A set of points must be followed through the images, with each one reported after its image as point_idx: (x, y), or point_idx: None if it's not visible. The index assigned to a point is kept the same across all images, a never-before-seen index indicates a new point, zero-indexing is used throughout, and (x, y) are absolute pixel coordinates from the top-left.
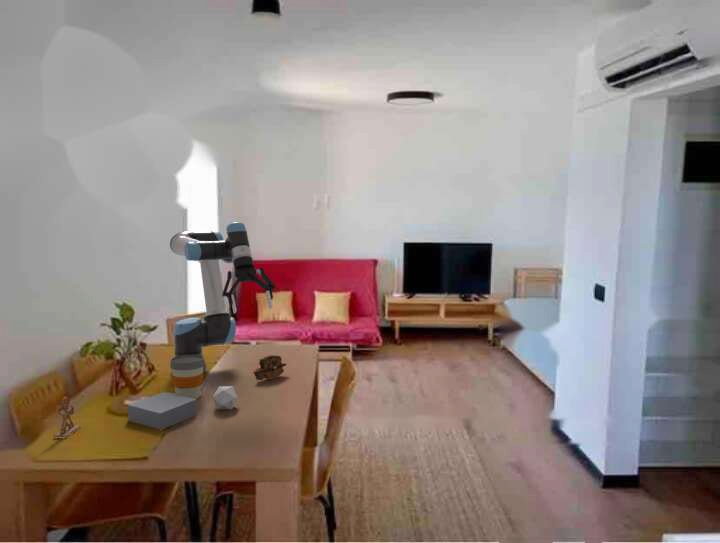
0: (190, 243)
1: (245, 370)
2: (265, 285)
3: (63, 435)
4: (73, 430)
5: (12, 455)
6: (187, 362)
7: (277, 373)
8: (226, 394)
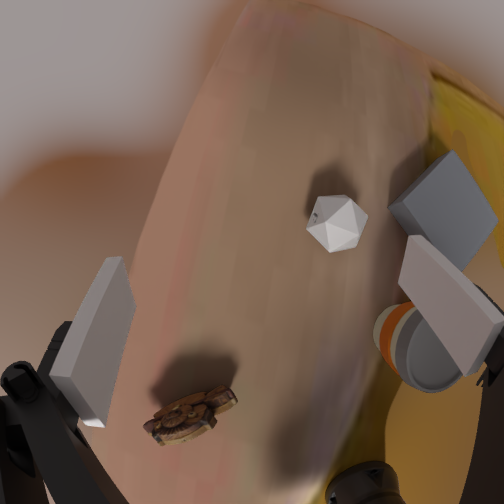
0: None
1: (242, 476)
2: (55, 449)
3: None
4: None
5: None
6: None
7: (172, 404)
8: (340, 197)
